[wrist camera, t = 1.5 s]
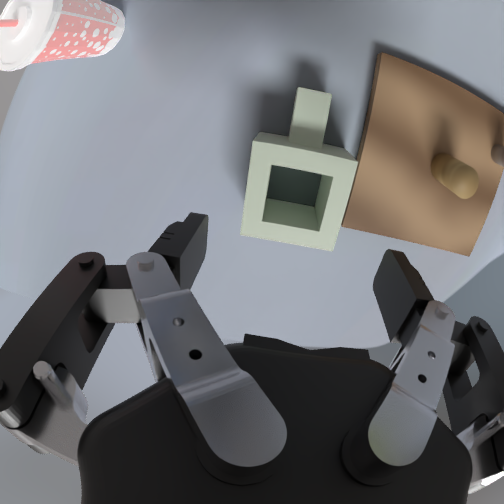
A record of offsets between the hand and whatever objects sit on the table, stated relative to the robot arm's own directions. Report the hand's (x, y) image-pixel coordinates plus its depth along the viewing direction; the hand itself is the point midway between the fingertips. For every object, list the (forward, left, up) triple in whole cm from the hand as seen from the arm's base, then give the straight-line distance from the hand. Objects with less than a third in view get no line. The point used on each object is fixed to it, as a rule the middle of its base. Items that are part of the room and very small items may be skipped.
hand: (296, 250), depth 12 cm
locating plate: (-4, +11, -9) cm, 15 cm away
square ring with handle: (-2, 0, -9) cm, 9 cm away
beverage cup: (-11, -16, -9) cm, 22 cm away
